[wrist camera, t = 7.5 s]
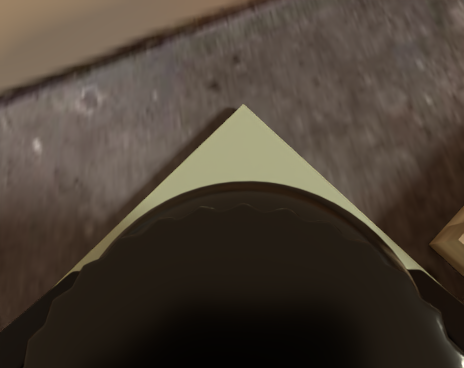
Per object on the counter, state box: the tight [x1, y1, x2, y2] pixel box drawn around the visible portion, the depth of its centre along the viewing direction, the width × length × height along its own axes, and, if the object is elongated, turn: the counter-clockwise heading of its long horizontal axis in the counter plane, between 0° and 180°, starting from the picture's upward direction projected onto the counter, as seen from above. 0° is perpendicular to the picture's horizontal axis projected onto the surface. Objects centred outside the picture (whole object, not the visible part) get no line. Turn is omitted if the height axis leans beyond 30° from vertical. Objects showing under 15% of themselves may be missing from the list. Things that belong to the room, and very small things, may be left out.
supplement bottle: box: [23, 181, 464, 368], centre depth 10 cm, size 7×7×12 cm
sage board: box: [57, 104, 437, 284], centre depth 20 cm, size 14×14×1 cm
